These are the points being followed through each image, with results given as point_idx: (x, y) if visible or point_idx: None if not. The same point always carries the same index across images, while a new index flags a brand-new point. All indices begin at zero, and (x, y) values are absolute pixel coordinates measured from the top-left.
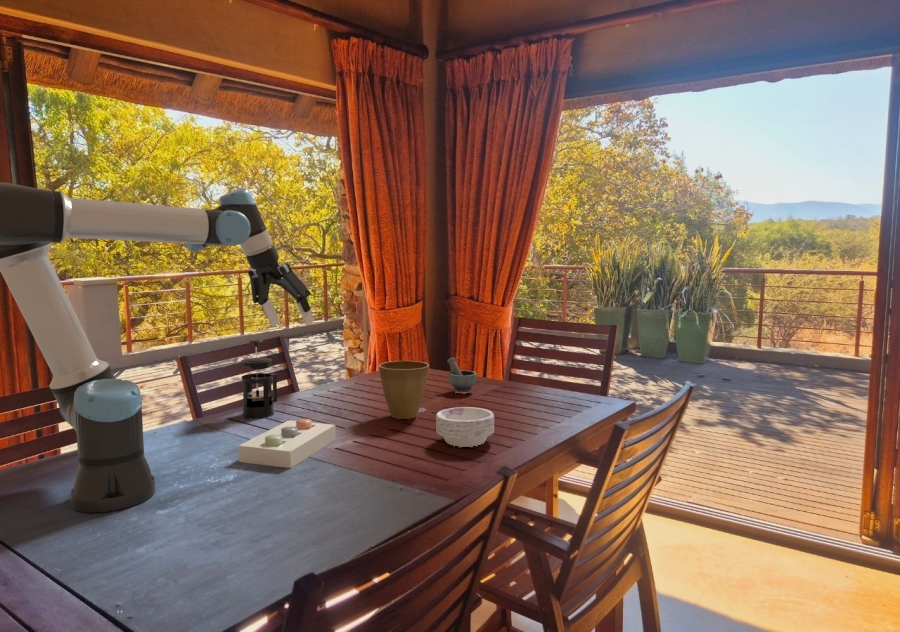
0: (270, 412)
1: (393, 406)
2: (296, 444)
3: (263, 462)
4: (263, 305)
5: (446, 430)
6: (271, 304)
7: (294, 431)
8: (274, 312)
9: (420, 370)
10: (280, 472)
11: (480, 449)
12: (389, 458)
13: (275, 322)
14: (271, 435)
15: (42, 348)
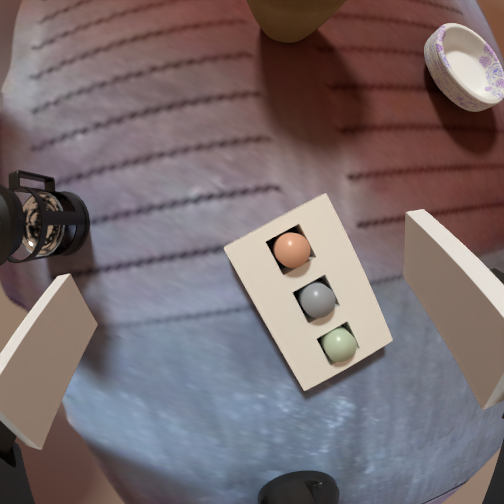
0: (82, 208)
1: (297, 35)
2: (373, 317)
3: None
4: (41, 448)
5: (477, 108)
6: (7, 379)
7: (334, 298)
8: (41, 334)
9: None
10: (382, 349)
11: None
12: (445, 196)
13: (80, 312)
14: (330, 346)
15: None
